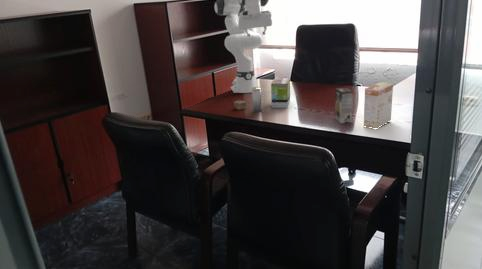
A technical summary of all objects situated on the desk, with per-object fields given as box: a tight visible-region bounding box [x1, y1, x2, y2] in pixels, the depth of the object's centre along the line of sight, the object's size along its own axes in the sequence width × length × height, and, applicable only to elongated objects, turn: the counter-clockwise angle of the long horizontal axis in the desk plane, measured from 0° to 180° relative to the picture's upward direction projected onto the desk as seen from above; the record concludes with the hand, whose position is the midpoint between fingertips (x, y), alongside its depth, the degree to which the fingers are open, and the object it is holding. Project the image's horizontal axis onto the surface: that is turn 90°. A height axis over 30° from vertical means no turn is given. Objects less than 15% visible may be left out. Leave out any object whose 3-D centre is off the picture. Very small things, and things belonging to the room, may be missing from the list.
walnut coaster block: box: [233, 100, 247, 111], centre depth 239 cm, size 5×5×4 cm
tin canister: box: [251, 86, 263, 114], centre depth 228 cm, size 5×5×14 cm
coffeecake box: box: [363, 81, 394, 129], centre depth 194 cm, size 15×7×20 cm, turn 133°
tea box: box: [270, 77, 291, 109], centre depth 239 cm, size 15×10×15 cm, turn 168°
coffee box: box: [334, 87, 354, 124], centre depth 204 cm, size 9×6×16 cm
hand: (256, 35), depth 242 cm, fingers open, 8 cm apart
